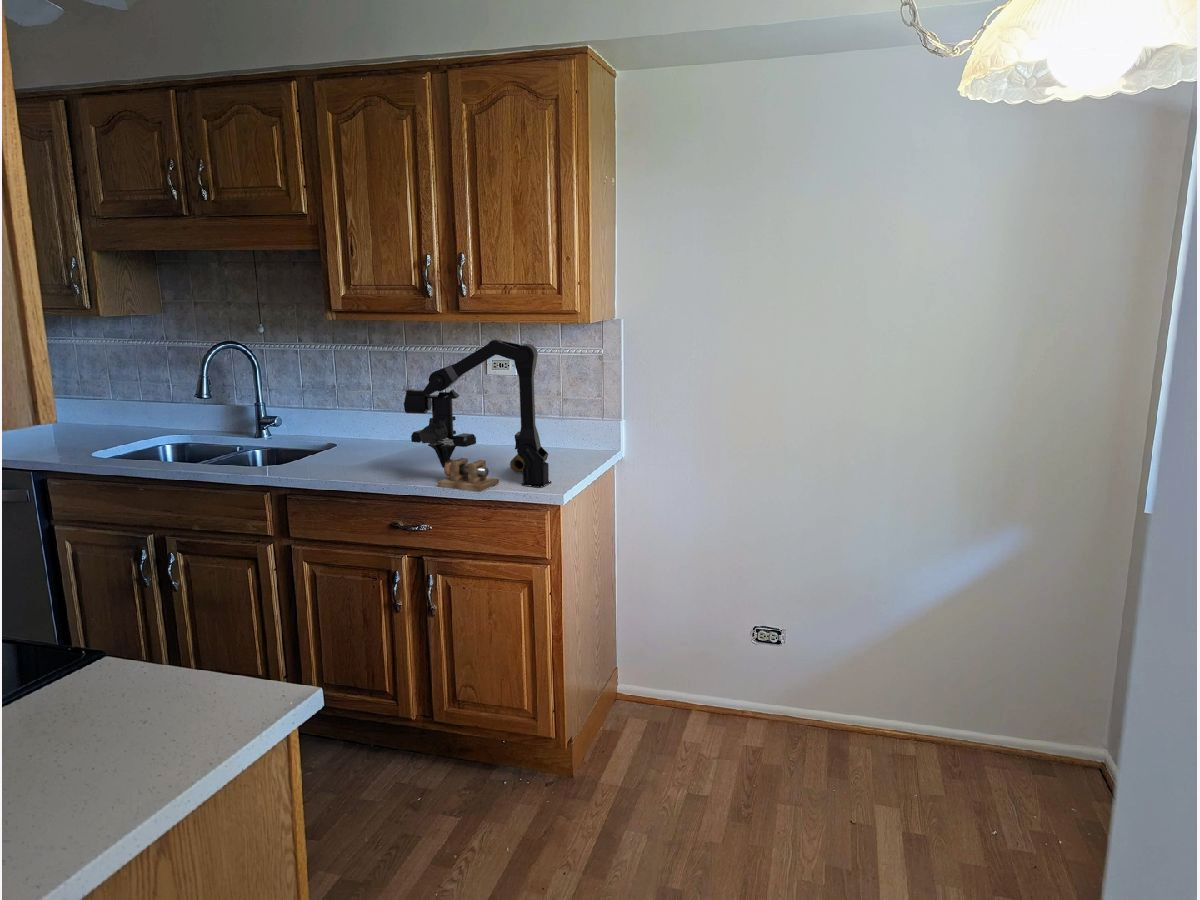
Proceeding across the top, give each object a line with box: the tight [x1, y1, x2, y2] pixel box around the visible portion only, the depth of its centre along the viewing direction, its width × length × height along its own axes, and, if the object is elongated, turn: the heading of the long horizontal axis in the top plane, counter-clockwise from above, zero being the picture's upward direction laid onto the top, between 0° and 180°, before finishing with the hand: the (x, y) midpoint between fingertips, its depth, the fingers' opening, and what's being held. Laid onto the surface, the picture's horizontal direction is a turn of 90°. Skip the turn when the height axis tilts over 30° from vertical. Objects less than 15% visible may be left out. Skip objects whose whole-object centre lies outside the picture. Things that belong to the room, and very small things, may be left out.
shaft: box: [443, 458, 490, 478], centre depth 242 cm, size 12×5×5 cm, turn 65°
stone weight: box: [509, 453, 524, 474], centre depth 263 cm, size 15×7×7 cm, turn 165°
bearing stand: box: [437, 457, 500, 493], centre depth 242 cm, size 14×10×7 cm
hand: (444, 467), depth 246 cm, fingers closed
